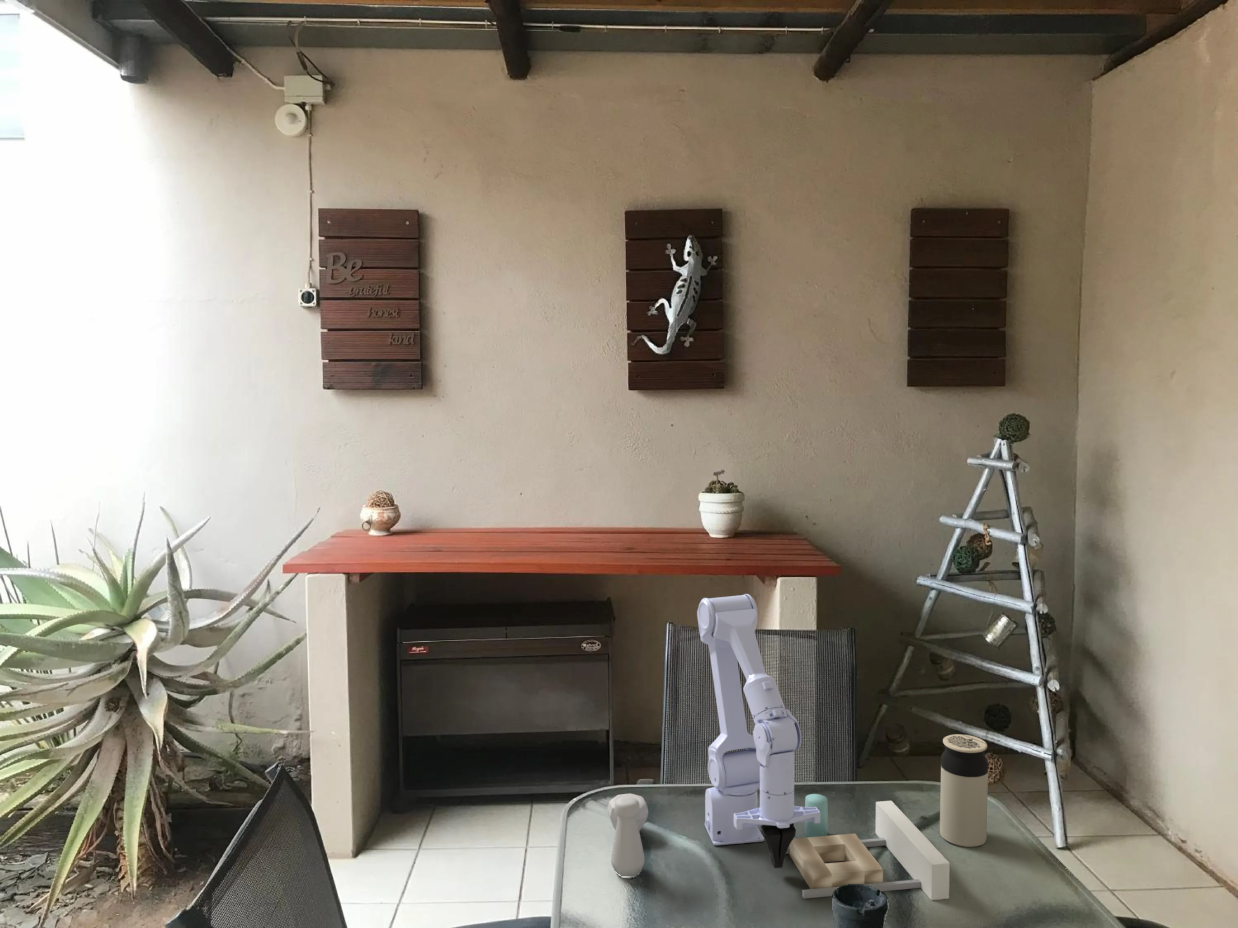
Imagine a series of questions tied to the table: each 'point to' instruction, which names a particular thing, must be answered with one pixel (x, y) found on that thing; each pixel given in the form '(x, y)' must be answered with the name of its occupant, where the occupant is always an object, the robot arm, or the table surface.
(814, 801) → the dowel
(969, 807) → the travel mug
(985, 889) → the table surface
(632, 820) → the salt shaker
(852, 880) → the socket block
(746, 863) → the table surface
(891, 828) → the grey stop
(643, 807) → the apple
